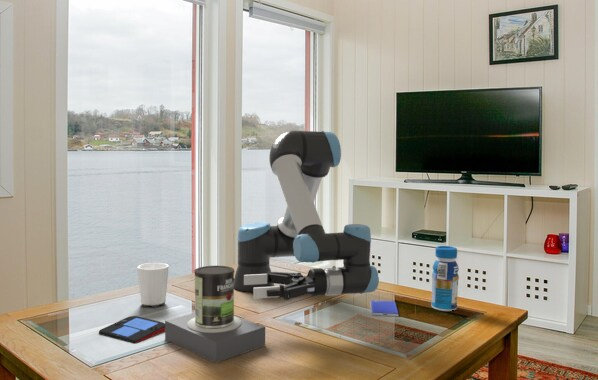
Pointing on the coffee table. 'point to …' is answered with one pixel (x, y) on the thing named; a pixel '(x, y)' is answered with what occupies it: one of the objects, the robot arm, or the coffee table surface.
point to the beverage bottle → (445, 279)
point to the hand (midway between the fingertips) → (248, 286)
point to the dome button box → (215, 337)
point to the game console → (133, 329)
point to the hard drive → (384, 308)
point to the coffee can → (214, 296)
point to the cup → (153, 283)
